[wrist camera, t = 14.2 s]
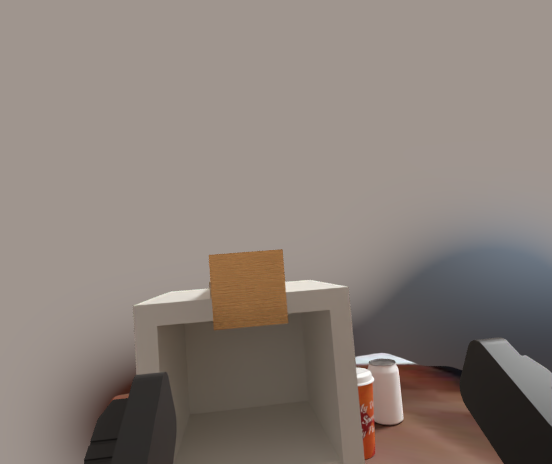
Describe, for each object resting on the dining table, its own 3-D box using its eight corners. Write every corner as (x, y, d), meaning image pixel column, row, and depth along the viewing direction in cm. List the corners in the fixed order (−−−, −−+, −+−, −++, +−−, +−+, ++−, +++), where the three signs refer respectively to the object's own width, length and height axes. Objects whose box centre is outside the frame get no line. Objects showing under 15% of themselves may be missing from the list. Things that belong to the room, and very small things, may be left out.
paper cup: (369, 467, 66) (361, 380, 67) (329, 456, 70) (322, 375, 71) (388, 447, 72) (380, 368, 73) (350, 438, 76) (343, 364, 78)
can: (368, 423, 83) (362, 365, 84) (377, 412, 88) (371, 357, 89) (399, 427, 80) (393, 366, 80) (406, 415, 85) (400, 359, 86)
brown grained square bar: (259, 291, 42) (256, 259, 42) (288, 323, 18) (282, 249, 18) (226, 293, 42) (224, 261, 42) (213, 330, 18) (208, 254, 18)
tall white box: (329, 510, 55) (309, 269, 58) (382, 647, 35) (347, 271, 38) (183, 531, 53) (169, 280, 56) (152, 690, 33) (132, 289, 36)
